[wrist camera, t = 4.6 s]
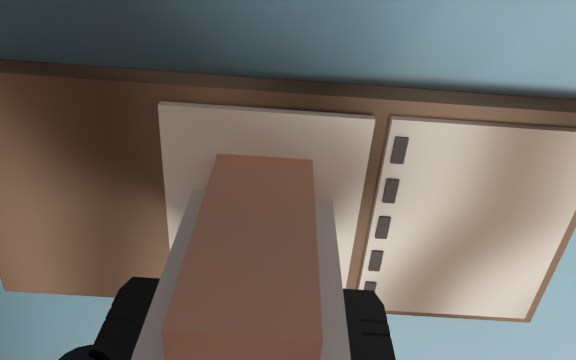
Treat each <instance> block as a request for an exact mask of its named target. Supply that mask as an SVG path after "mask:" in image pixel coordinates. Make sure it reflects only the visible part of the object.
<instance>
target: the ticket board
mask: <svg viewBox="0 0 576 360" xmlns="http://www.w3.org/2000/svg"><path fill="white" fill-rule="evenodd" d="M160 101H167V102H181V103H196V104H210V105H225V106H239V107H254V108H269V109H283V110H298V111H312V112H327V113H342V114H356V115H371V116H374V117H375V125H374V131H373V137H372V142H371V148H370V154H369V159H368V165H367V170H366V176H365V182H364V187H363V193H362V199H361V204H360V210H359V216H358V221H357V227H356V233H355V238H354V244H353V250H352V255H351V261H350V267H349V272H348V278H347V283H346V289H358V290H374V292H375V293H376V295H377V296H378V297H379V299H380V300H381V302H382V303H383V304H384V308H385V312H386V314H397V315H414V316H430V317H447V318H463V319H480V320H497V321H513V322H530V321H531V319H532V317H533V315H534V313H535V311H536V308H537V306H538V304H539V302H540V300H541V298H542V296H543V294H544V292H545V290H546V288H547V286H548V283H549V281H550V279H551V277H552V275H553V273H554V271H555V269H556V267H557V265H558V263H559V261H560V258H561V256H562V254H563V252H564V250H565V248H566V246H567V244H568V242H569V240H570V238H571V236H572V233H573V231H574V229H575V227H576V100H572V99H558V98H544V97H529V96H515V95H501V94H486V93H472V92H458V91H443V90H429V89H415V88H400V87H386V86H372V85H357V84H343V83H329V82H314V81H300V80H286V79H271V78H257V77H243V76H228V75H214V74H200V73H185V72H171V71H157V70H143V69H128V68H114V67H100V66H85V65H71V64H57V63H42V62H28V61H14V60H0V277H1V280H2V283H3V286H4V289H5V291H16V292H32V293H49V294H66V295H82V296H99V297H116V295H117V292H118V290H119V289H120V288H121V287H122V286H123V285H124V284H125V283H126V282H127V281H129V280H130V279H131V278H132V277H146V278H161V275H162V272H163V270H164V267H165V264H166V261H167V259H168V256H169V253H170V247H169V235H168V223H167V211H166V199H165V187H164V175H163V163H162V151H161V139H160V127H159V116H158V103H159V102H160Z"/></svg>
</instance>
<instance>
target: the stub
mask: <svg viewBox="0 0 576 360" xmlns="http://www.w3.org/2000/svg"><path fill="white" fill-rule="evenodd" d="M158 116H159V127H160V139H161V151H162V163H163V175H164V187H165V199H166V211H167V223H168V235H169V247H170V250H171V248H172V245H173V242H174V239H175V237H176V234H177V231H178V228H179V226H180V223H181V220H182V217H183V215H184V212H185V209H186V206H187V203H188V201H189V198H190V195H191V192H192V190H206V191H205V194H204V197H203V200H202V203H201V206H200V210H199V213H198V216H197V219H196V222H195V225H194V229H193V232H192V235H191V238H190V241H189V244H188V247H187V251H186V254H185V257H184V260H183V263H182V266H181V270H180V273H179V276H178V279H177V282H176V285H175V289H174V292H173V295H172V298H171V301H170V304H169V307H168V311H167V314H166V317H165V320H164V323H163V326H162V330H161V332H162V341H163V350H164V359H165V360H320V356H321V350H322V343H323V330H322V313H321V296H320V279H319V262H318V245H317V228H316V211H315V198H330V199H332V200H333V208H334V217H335V226H336V235H337V243H338V252H339V261H340V269H341V278H342V287H343V289H346V283H347V278H348V272H349V267H350V261H351V255H352V250H353V244H354V238H355V233H356V227H357V221H358V216H359V210H360V204H361V199H362V193H363V187H364V182H365V176H366V170H367V165H368V159H369V154H370V148H371V142H372V137H373V131H374V125H375V117H374V116H371V115H356V114H342V113H327V112H312V111H298V110H283V109H269V108H254V107H239V106H225V105H210V104H196V103H181V102H167V101H160V102H159V103H158Z"/></svg>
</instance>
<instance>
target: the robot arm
mask: <svg viewBox="0 0 576 360" xmlns="http://www.w3.org/2000/svg"><path fill="white" fill-rule="evenodd" d="M205 191H206V190H192V192H191V195H190V198H189V201H188V203H187V206H186V209H185V212H184V215H183V217H182V220H181V223H180V226H179V228H178V231H177V234H176V237H175V239H174V242H173V245H172V248H171V250H170V253H169V256H168V259H167V261H166V264H165V267H164V270H163V272H162V275H161V278H146V277H132V278H131V279H130V280H129V281H127V282H126V283H125V284H124V285H123V286H122V287H121V288H120V289H119V290H118V292H117V295H116V297H115V299H114V301H113V303H112V307H111V309H110V310H109V312H108V314H107V316H106V320H105V321H104V323H103V325H102V327H101V329H100V332H99V334H98V336H97V338H96V340H95V342H94V345H87V346H82V347H78V348H76V349H74V350H72V351H70V352H68V353H66V354H64V355H63V356H62V357H61V358H60V359H59V360H165V359H164V350H163V341H162V332H161V330H162V326H163V323H164V320H165V317H166V314H167V311H168V307H169V304H170V301H171V298H172V295H173V292H174V289H175V285H176V282H177V279H178V276H179V273H180V270H181V266H182V263H183V260H184V257H185V254H186V251H187V247H188V244H189V241H190V238H191V235H192V232H193V229H194V225H195V222H196V219H197V216H198V213H199V210H200V206H201V203H202V200H203V197H204V194H205ZM315 211H316V228H317V245H318V262H319V279H320V296H321V313H322V330H323V343H322V350H321V356H320V360H396V359H395V355H394V350H393V345H392V340H391V337H390V331H389V326H388V324H387V317H386V312H385V308H384V304H383V303H382V302H381V300H380V299H379V297H378V296H377V295H376V293H375V292H374V290H358V289H343V287H342V278H341V269H340V261H339V252H338V243H337V235H336V226H335V217H334V208H333V200H332V199H330V198H315Z"/></svg>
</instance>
